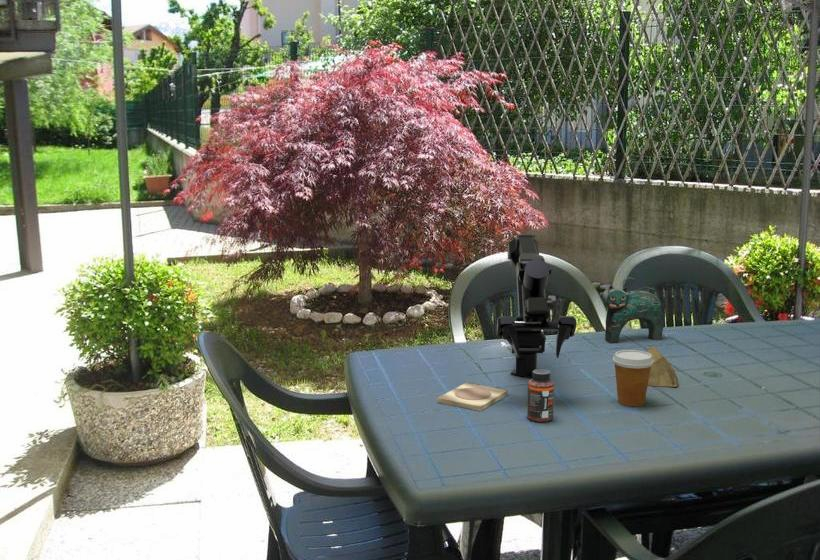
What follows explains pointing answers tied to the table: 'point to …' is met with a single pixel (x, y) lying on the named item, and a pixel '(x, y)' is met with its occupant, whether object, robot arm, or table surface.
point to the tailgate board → (472, 396)
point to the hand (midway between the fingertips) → (538, 357)
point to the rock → (661, 371)
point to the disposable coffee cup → (632, 376)
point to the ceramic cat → (632, 311)
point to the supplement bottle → (540, 396)
